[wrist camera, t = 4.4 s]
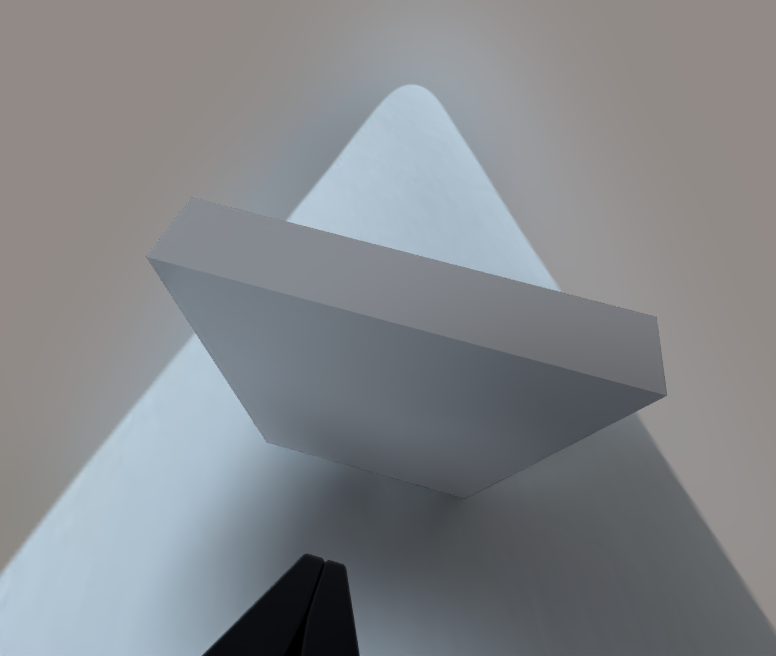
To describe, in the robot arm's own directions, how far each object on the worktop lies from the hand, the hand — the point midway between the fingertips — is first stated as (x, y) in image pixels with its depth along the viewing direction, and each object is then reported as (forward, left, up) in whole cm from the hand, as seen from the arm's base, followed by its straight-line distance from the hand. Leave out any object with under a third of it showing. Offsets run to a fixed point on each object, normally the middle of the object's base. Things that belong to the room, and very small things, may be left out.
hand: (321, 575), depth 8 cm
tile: (+4, 0, -7) cm, 8 cm away
